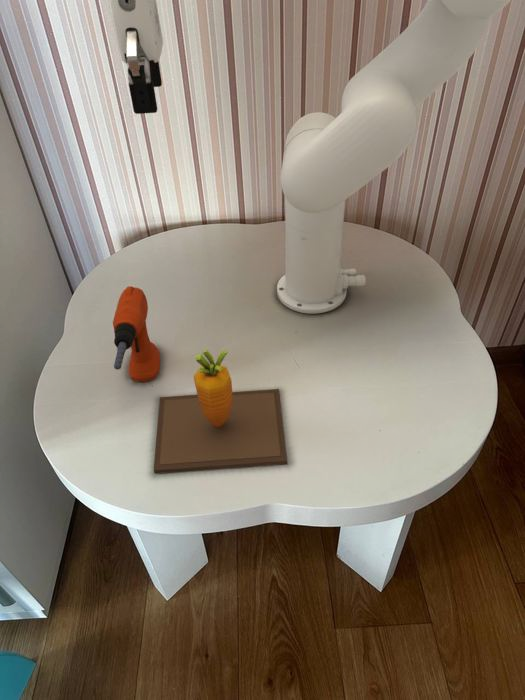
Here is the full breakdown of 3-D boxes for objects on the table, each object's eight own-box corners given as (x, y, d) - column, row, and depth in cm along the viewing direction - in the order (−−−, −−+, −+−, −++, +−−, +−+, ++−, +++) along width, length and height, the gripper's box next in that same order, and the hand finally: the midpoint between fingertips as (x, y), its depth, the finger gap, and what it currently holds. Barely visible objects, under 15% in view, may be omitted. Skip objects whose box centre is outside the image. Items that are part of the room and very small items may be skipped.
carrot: (238, 413, 82) (231, 339, 72) (233, 441, 79) (225, 367, 68) (204, 411, 82) (192, 337, 72) (198, 439, 79) (185, 365, 68)
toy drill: (116, 435, 79) (92, 351, 70) (133, 354, 94) (115, 275, 85) (151, 433, 79) (132, 348, 70) (162, 352, 94) (148, 273, 85)
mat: (278, 392, 86) (278, 388, 85) (286, 464, 77) (286, 460, 76) (160, 400, 86) (159, 396, 85) (154, 473, 76) (153, 469, 76)
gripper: (149, -31, 63) (172, 122, 75) (159, -59, 75) (177, 76, 87) (82, -27, 63) (115, 125, 75) (103, -56, 75) (128, 79, 87)
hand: (148, 98), depth 81 cm, fingers open, 9 cm apart
